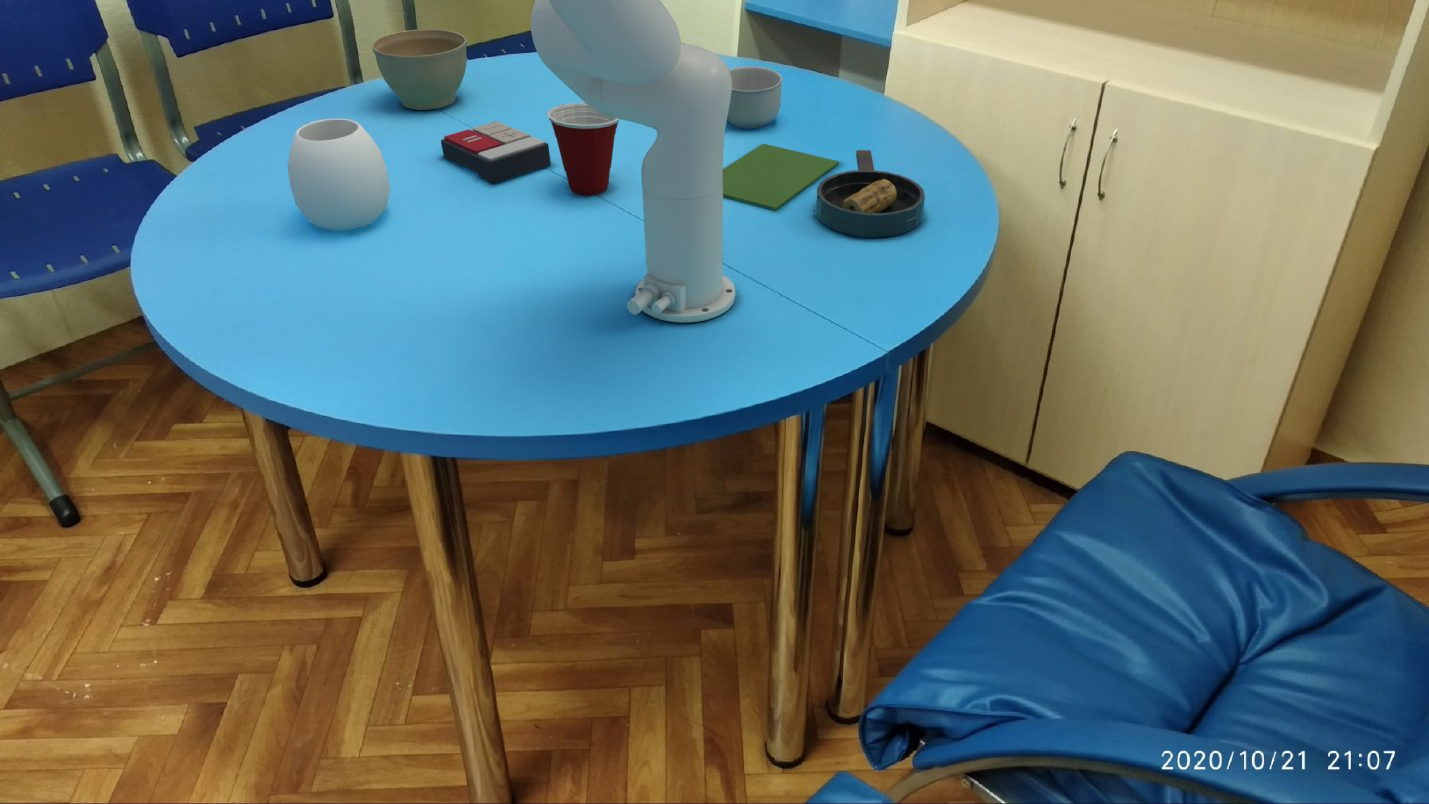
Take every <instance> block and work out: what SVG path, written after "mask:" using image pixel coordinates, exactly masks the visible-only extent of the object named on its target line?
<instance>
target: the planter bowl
mask: <svg viewBox="0 0 1429 804" xmlns="http://www.w3.org/2000/svg"><path fill="white" fill-rule="evenodd" d="M467 47H468V42H467V38H466V37H465V35H463V34H461V33H459V32H457V31H453V30H447V29H439V28H438V29H437V28H435V29H434V28H432V29H431V28H426V29H423V28H422V29H410V30H409V29H407V30H401V31H397V32H393V33H389V34H386V35H383V36H381V37H379V38H377V39H376V40H374V41H373V43H372V44H371V49H372V52H373V54H374V56H375V60H376V65H377V67H378V70H379V73H380V74H381V76H382V78H383V80H384V81H385V83H386V84H387V86H388V87H389V89H390V90H391V91H392V92H393V93H394V94H395V96H397V97H398V98H399V100H400V103H401V105H402V106H403V107H405V108H408V109H410V110H417V111H429V110H430V111H431V110H438V109H442V108H445V107H448V106H450V105H452V104H453V103H455V101H456V93H457V92H458V90H459V88H460V86H461V85H462V83H463V80H464V77H465V73H466V69H467V61H468V60H467V59H468V58H467V55H468V54H467Z"/></svg>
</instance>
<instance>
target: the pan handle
mask: <svg viewBox="0 0 1429 804" xmlns="http://www.w3.org/2000/svg"><path fill="white" fill-rule="evenodd" d="M855 158H856V159H855V160H856V165H857V170H875V166H874V161H873V155H872V150H871V149H868V150H867V149H856V151H855Z"/></svg>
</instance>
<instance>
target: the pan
mask: <svg viewBox="0 0 1429 804" xmlns="http://www.w3.org/2000/svg"><path fill="white" fill-rule="evenodd" d="M882 179H885V180H888V181H890V182H891V183H892V184H893V185H894V187H895V189H896V193H897V195H896V200H895V201H894V202H893V203H892V204H891V205H890V206H889V207H887V208H885V209H884V210H882V211H881V212H880V213H863V212H855V211H851V210H847V209H843V202H844V200H845V199H847V198H848V197H850V196H851V195H853V194H856V193H858V192H859V191H860V190H861V189H863V188H865V187H867V186H869V185H870V184H872V183H874V182H876V181H878V180H882ZM925 199H926V194H925V191H924V189H923V187H922V185H920V184H919V183H917V182H916V181H914V180H913V179H911V178H908V177H906V176H903V175H901V174H898V173H893V172H889V171H883V170H875V169H874V170H858V169H857V170H847V171H842V172H838V173H835V174H832V175H830V176H828V177H825V178H824V179H823V180H822V181H820V182H819V184H818V186H817V187H816V199H815V215H816V217H817V218H818V219H819V222H821V223H822V224H824V225H826V226H827V227H828V228H829V229H832V230H834V231H836V232H839V233H840V234H841V233H842V234H844V235H849V236H853V237H858V238H859V237H860V238H887V237H894V236H898V235H902V234H904V233H907V232H910V231H911V230H913V229H915V228H916V227H917V226H919V224H920V223H922V219H923V217H924V208H925V201H926V200H925Z"/></svg>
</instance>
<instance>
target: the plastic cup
mask: <svg viewBox="0 0 1429 804" xmlns="http://www.w3.org/2000/svg"><path fill="white" fill-rule="evenodd" d="M546 114H547V118H548V121H550V123H551V127H552V129H553V133H554V136H555V138H556V142H557V146H558V150H559V154H560V158H561V162H562V166H563V171H564V172H565V176H566V179H567V183H568V187H569V189H570V191H571V193H573V194H574V195H578V196H583V197H591V196H598V195H601V194H603V193H605V192H607V190H608V188H609V185H610V176H611V168H612V162H613V153H614V146H615V137H616V132H617V128H618V125H619V121H620V120H621V119H618V118H614V117H610V116H607V115H604V114H602V113H600V112H598V111H596V110H595V109H593V108H592V107H590V106H589V105H588V104H586V103H585V102H580V103H579V102H578V103H577V102H576V103H575V102H574V103H573V102H572V103H567V104H560V105H557V106H554V107H551V108H550V109H549V110H548V111H547V112H546Z"/></svg>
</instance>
